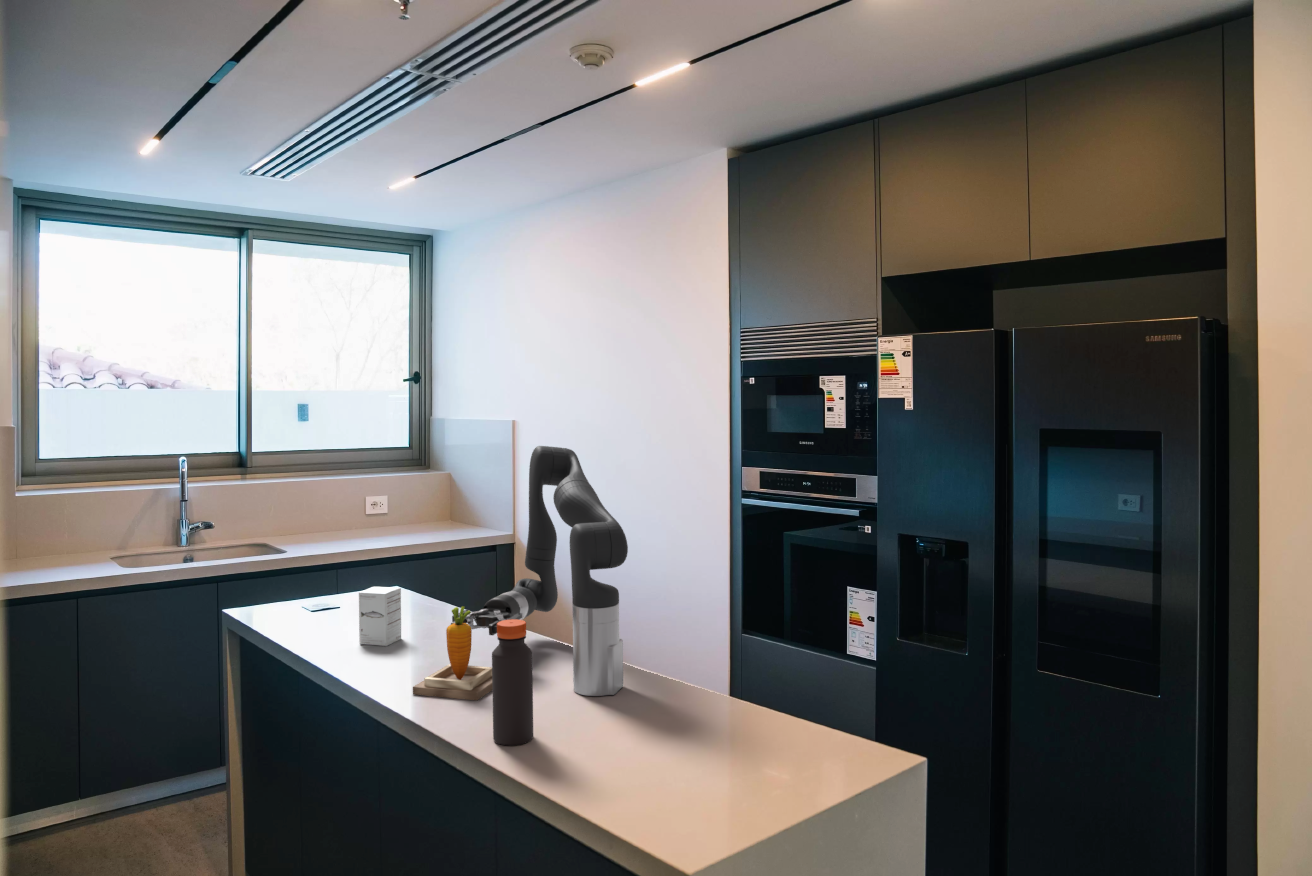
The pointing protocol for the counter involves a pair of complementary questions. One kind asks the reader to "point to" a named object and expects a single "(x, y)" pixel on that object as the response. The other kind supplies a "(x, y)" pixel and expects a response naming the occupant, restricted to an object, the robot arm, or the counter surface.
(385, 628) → the supplement box
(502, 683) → the bottle
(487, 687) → the beige wooden tray
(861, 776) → the counter surface
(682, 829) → the counter surface
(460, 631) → the carrot
